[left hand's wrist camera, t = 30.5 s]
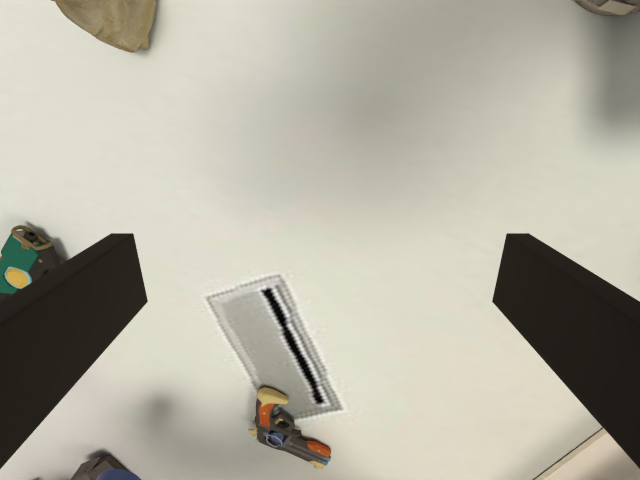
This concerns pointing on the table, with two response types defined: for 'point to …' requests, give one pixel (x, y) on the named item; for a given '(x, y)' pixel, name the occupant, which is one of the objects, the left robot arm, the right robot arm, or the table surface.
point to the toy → (96, 468)
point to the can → (117, 475)
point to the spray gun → (24, 260)
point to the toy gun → (284, 430)
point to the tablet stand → (594, 462)
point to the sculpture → (113, 20)
